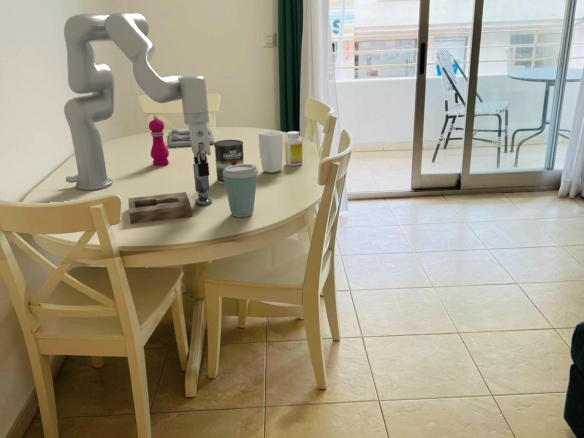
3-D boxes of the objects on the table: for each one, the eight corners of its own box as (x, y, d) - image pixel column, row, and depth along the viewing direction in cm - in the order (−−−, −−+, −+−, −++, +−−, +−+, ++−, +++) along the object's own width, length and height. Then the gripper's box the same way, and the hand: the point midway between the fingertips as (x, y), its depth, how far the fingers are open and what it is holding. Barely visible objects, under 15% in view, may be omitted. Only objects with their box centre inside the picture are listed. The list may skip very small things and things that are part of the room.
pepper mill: (165, 167, 217) (160, 117, 210) (148, 166, 218) (142, 117, 211) (172, 162, 223) (167, 114, 216) (156, 161, 225) (150, 113, 218)
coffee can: (249, 182, 195) (246, 143, 190) (221, 186, 191) (218, 147, 186) (239, 175, 203) (237, 138, 198) (213, 178, 200) (210, 141, 195)
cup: (272, 167, 212) (271, 130, 206) (285, 171, 207) (284, 132, 201) (258, 171, 207) (256, 133, 202) (271, 175, 202) (269, 136, 197)
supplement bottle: (305, 163, 216) (305, 132, 211) (294, 167, 212) (293, 135, 207) (293, 161, 220) (292, 130, 216) (282, 164, 216) (281, 132, 211)
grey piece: (168, 136, 275) (167, 122, 272) (211, 133, 279) (210, 119, 276) (168, 149, 247) (166, 134, 245) (215, 146, 251) (214, 131, 249)
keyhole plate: (130, 223, 158) (128, 212, 157) (129, 208, 171) (128, 198, 170) (192, 216, 163) (191, 205, 162) (187, 202, 175) (186, 191, 174)
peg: (196, 206, 171) (192, 167, 166) (194, 201, 176) (190, 163, 171) (212, 204, 172) (209, 165, 168) (210, 199, 177) (207, 161, 172)
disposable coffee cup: (218, 217, 161) (215, 169, 156) (235, 206, 171) (232, 160, 165) (251, 221, 158) (248, 172, 152) (265, 209, 167) (263, 162, 162)
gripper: (212, 121, 157) (218, 177, 163) (204, 112, 173) (210, 164, 179) (187, 123, 155) (193, 180, 161) (181, 114, 171) (187, 167, 177)
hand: (202, 172), depth 170 cm, fingers open, 9 cm apart
